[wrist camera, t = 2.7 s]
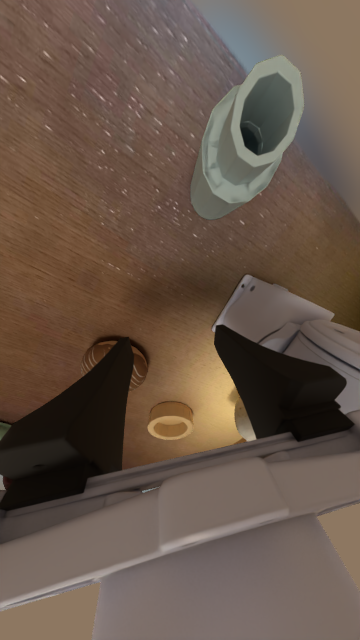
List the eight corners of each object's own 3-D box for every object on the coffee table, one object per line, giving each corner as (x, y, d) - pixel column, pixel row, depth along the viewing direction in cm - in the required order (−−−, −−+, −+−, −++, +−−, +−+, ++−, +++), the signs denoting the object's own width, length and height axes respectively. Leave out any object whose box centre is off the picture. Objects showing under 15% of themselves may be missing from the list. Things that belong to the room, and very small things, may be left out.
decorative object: (276, 387, 30) (317, 445, 21) (252, 409, 34) (279, 467, 25) (240, 377, 29) (269, 437, 20) (220, 402, 32) (236, 461, 24)
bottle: (203, 148, 13) (256, -34, 5) (245, 176, 14) (354, 69, 6) (183, 207, 15) (192, 157, 7) (220, 227, 16) (272, 208, 8)
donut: (153, 341, 24) (149, 358, 20) (146, 383, 29) (142, 402, 25) (85, 330, 22) (69, 346, 19) (90, 376, 27) (77, 395, 24)
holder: (158, 397, 31) (156, 412, 28) (199, 407, 33) (201, 421, 30) (144, 421, 35) (142, 435, 32) (181, 428, 37) (182, 442, 35)
